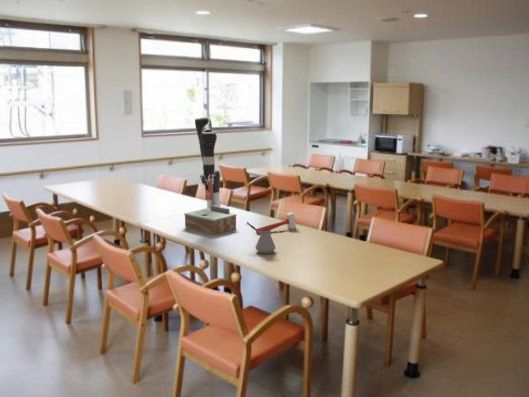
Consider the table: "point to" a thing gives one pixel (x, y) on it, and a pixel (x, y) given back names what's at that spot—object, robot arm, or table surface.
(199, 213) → the toolbox lid
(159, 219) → the table surface
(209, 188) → the pin
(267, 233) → the coffee pot
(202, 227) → the toolbox
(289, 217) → the mallet
